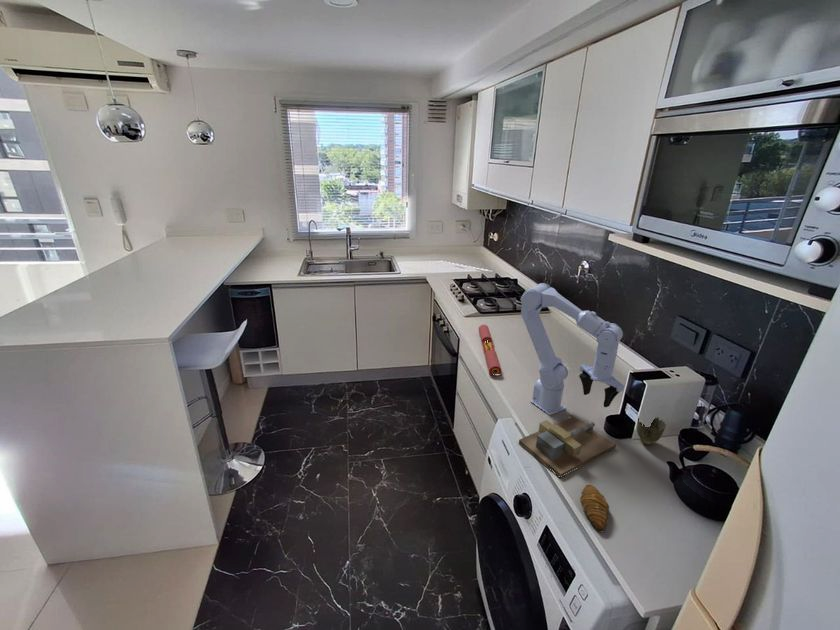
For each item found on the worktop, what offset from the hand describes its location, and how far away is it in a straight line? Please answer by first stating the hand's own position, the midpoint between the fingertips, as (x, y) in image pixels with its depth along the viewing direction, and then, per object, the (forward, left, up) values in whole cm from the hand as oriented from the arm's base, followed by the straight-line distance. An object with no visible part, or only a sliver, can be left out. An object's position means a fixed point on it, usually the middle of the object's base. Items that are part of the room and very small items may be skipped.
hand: (596, 399), depth 125 cm
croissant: (+22, -29, -10) cm, 38 cm away
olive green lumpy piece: (+14, +7, -10) cm, 19 cm away
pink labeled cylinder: (-57, +3, -10) cm, 58 cm away
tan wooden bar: (+3, -20, -8) cm, 22 cm away
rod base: (+3, -16, -9) cm, 19 cm away
